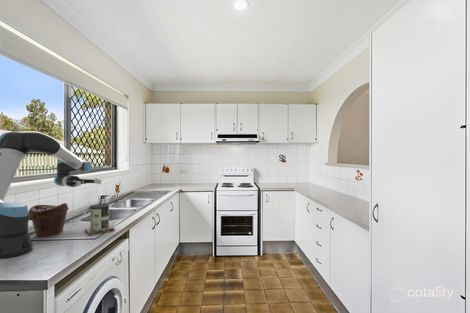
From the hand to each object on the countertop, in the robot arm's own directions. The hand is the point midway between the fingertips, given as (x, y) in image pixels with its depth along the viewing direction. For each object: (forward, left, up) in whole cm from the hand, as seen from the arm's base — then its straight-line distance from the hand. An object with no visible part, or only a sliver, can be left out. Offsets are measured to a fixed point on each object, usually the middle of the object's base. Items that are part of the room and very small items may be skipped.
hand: (90, 182), depth 161 cm
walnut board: (+3, -12, -29) cm, 31 cm away
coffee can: (+2, -12, -28) cm, 30 cm away
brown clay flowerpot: (-22, +2, -29) cm, 36 cm away
